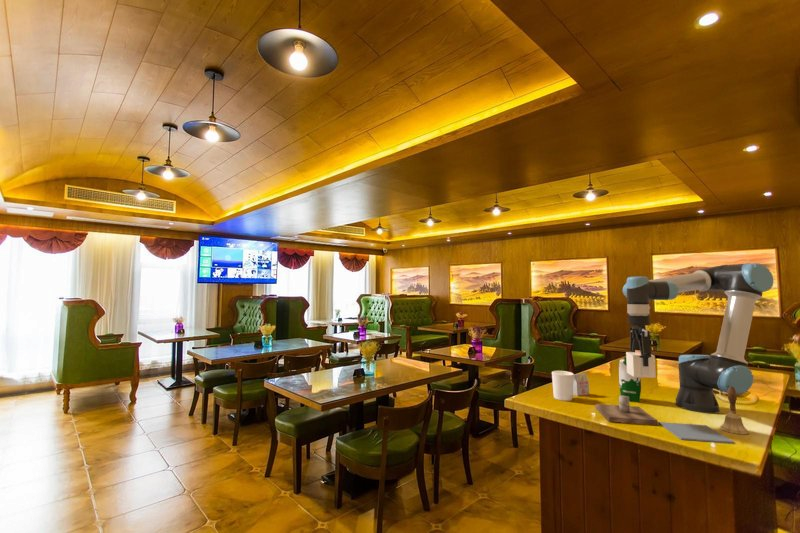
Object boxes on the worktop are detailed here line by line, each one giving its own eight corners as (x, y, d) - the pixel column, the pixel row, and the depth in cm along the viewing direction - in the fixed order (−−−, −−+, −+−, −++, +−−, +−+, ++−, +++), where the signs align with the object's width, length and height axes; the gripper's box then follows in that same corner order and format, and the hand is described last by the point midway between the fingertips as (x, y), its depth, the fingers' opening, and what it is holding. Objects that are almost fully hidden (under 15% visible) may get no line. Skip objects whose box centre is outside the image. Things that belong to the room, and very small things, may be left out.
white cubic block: (626, 372, 154) (625, 349, 154) (647, 373, 152) (646, 350, 153) (633, 376, 147) (632, 352, 147) (655, 377, 145) (654, 353, 145)
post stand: (638, 411, 160) (638, 392, 160) (657, 425, 143) (656, 404, 143) (595, 408, 163) (595, 389, 163) (609, 422, 146) (608, 401, 147)
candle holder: (576, 402, 172) (576, 375, 173) (554, 400, 174) (553, 374, 175) (571, 396, 182) (571, 371, 183) (550, 394, 184) (549, 370, 185)
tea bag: (572, 394, 186) (571, 373, 187) (583, 393, 188) (583, 372, 188) (577, 396, 182) (576, 375, 183) (589, 395, 184) (588, 374, 185)
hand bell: (713, 426, 142) (711, 384, 143) (733, 426, 143) (731, 383, 144) (734, 435, 134) (732, 389, 135) (755, 434, 134) (753, 389, 135)
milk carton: (619, 400, 175) (618, 357, 177) (620, 395, 183) (618, 354, 184) (641, 403, 171) (640, 359, 172) (641, 398, 178) (640, 356, 180)
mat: (706, 426, 142) (706, 425, 142) (734, 443, 126) (734, 441, 126) (659, 423, 145) (658, 421, 145) (680, 439, 129) (680, 437, 129)
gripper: (660, 316, 140) (663, 378, 139) (639, 313, 160) (641, 367, 158) (638, 316, 142) (640, 377, 140) (619, 313, 162) (621, 366, 160)
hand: (640, 372), depth 149 cm, fingers closed on white cubic block, 8 cm apart
